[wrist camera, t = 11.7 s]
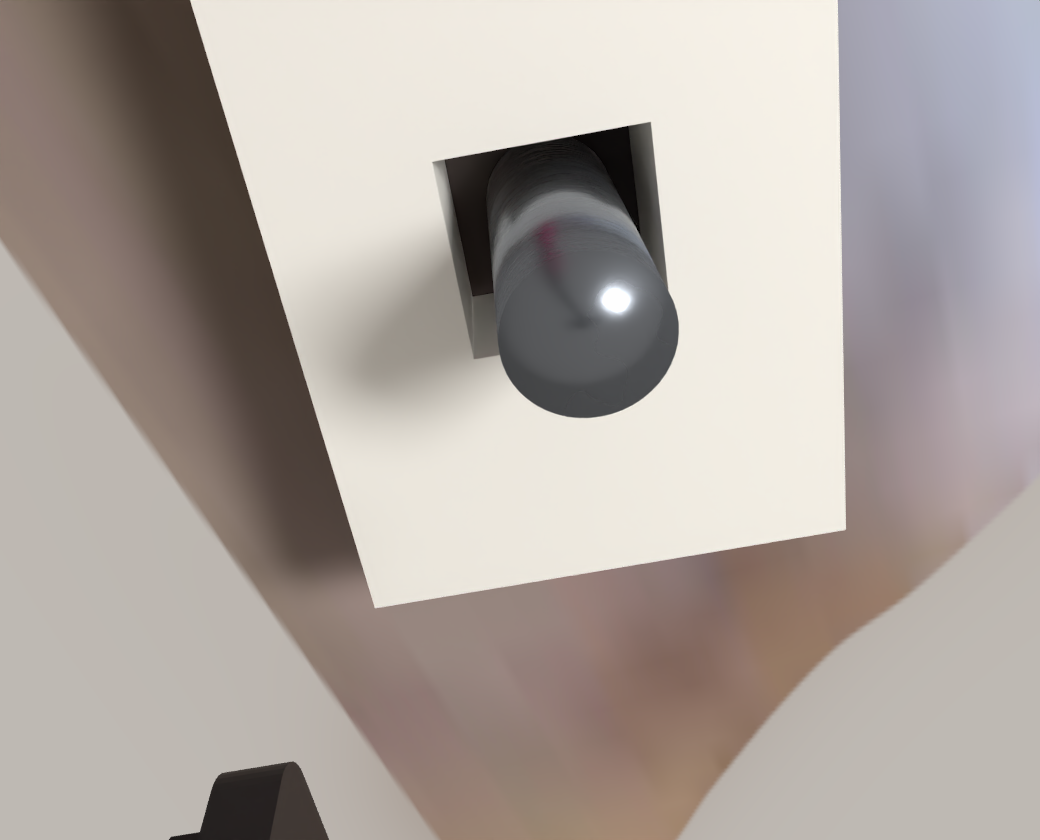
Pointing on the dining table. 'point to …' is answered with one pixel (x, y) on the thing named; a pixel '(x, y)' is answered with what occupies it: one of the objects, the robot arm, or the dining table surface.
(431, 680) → the dining table surface
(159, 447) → the dining table surface
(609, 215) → the peg
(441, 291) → the hole block
